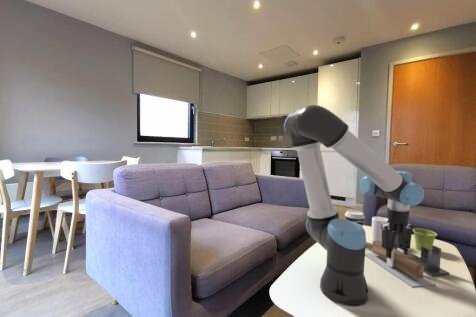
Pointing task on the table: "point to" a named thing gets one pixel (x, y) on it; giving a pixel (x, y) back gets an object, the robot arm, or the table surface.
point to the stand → (427, 259)
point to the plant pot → (424, 238)
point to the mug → (377, 228)
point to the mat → (399, 272)
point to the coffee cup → (355, 217)
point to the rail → (400, 260)
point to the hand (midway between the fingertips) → (394, 265)
